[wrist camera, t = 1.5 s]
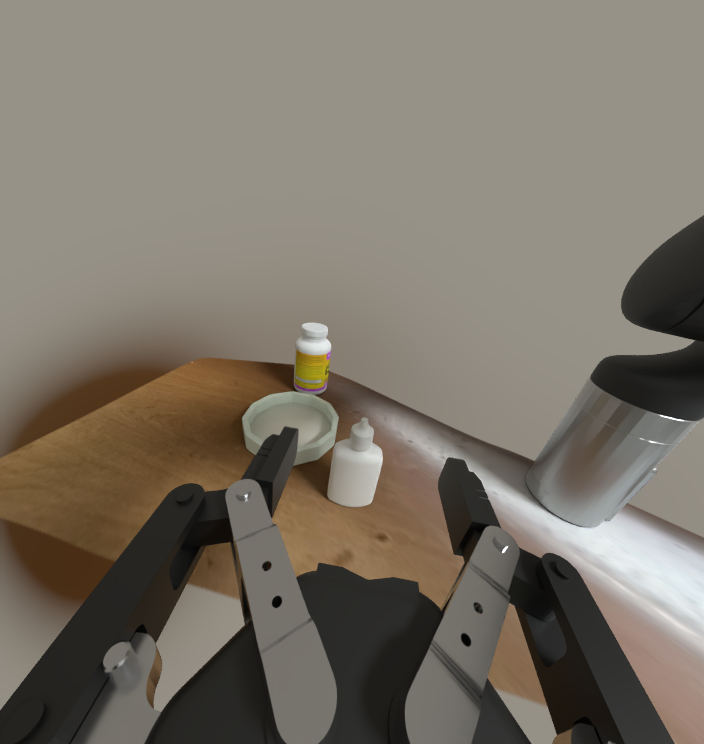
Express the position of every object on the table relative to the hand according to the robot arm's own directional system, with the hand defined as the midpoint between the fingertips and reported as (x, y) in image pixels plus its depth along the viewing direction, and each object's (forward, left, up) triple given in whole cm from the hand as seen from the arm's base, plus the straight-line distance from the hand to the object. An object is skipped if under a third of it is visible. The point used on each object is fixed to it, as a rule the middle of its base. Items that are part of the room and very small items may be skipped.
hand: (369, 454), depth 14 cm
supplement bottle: (+9, -35, -19) cm, 40 cm away
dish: (+9, -21, -19) cm, 30 cm away
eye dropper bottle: (-1, -11, -19) cm, 22 cm away
